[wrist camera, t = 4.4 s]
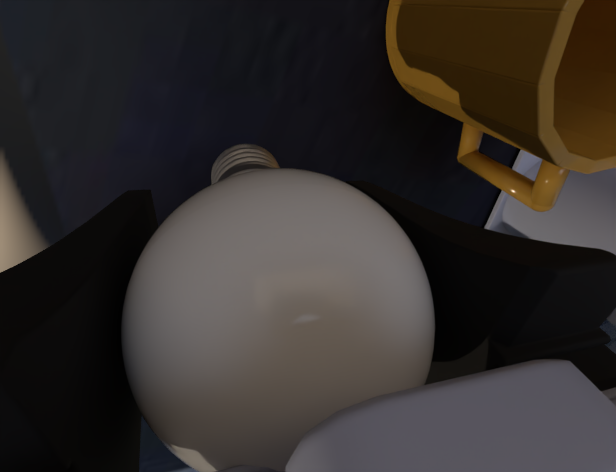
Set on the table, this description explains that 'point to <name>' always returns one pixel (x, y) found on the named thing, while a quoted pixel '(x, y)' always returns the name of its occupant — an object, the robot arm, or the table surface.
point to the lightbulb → (270, 312)
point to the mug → (515, 82)
